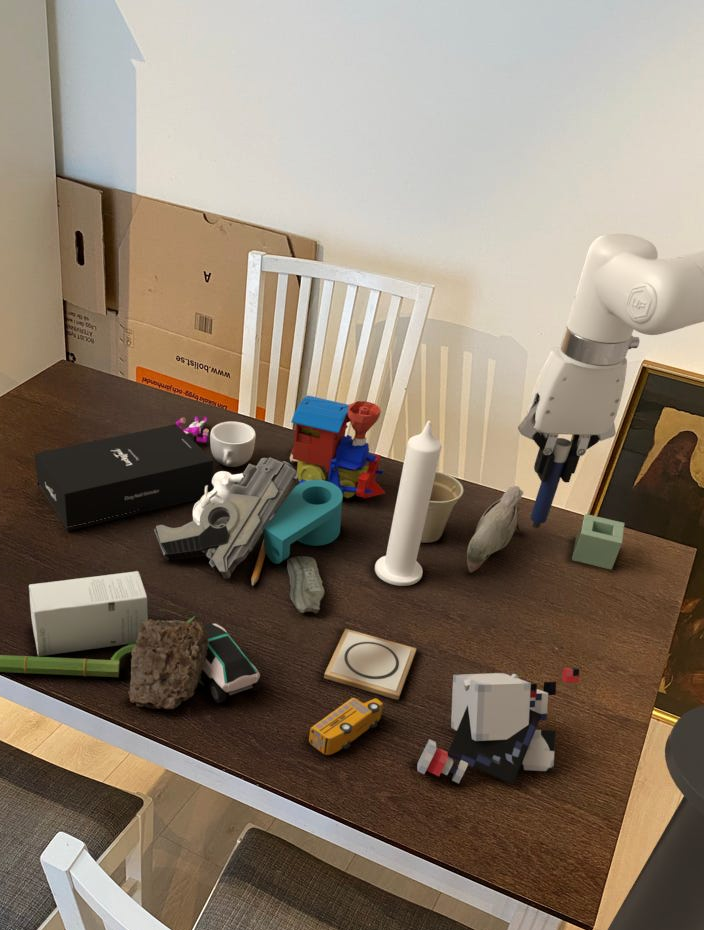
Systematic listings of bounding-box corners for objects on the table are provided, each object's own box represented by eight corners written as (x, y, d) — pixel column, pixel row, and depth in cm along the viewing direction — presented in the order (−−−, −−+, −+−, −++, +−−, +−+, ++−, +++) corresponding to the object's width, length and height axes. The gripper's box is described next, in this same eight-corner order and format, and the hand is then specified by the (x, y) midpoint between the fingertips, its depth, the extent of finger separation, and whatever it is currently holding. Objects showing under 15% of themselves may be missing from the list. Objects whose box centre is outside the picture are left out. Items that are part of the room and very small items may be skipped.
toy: (474, 622, 117) (589, 672, 115) (416, 744, 120) (526, 794, 118) (482, 636, 105) (610, 692, 103) (416, 771, 108) (539, 827, 107)
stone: (328, 603, 130) (293, 607, 130) (328, 615, 131) (293, 618, 131) (315, 554, 140) (282, 557, 140) (315, 565, 141) (282, 569, 141)
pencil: (272, 519, 150) (250, 590, 136) (270, 514, 150) (247, 584, 136) (278, 517, 150) (256, 588, 136) (275, 512, 149) (253, 583, 135)
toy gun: (142, 542, 139) (225, 585, 134) (216, 428, 142) (300, 465, 137) (149, 552, 142) (231, 594, 137) (221, 440, 145) (304, 477, 140)
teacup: (215, 446, 166) (216, 418, 162) (257, 452, 165) (259, 425, 161) (201, 474, 159) (202, 446, 155) (246, 481, 158) (248, 453, 154)
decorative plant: (-38, 659, 115) (206, 670, 116) (-27, 604, 120) (207, 616, 121) (-30, 684, 120) (203, 695, 122) (-20, 631, 125) (205, 641, 126)
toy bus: (386, 703, 115) (362, 687, 117) (334, 742, 110) (309, 725, 112) (383, 721, 117) (359, 705, 119) (331, 761, 112) (307, 744, 114)
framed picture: (415, 652, 127) (417, 647, 126) (398, 700, 120) (399, 694, 119) (344, 632, 129) (345, 627, 129) (323, 678, 122) (324, 672, 122)
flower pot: (417, 509, 154) (427, 462, 148) (463, 534, 149) (476, 488, 143) (380, 529, 149) (388, 482, 143) (427, 556, 144) (437, 509, 138)
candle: (421, 589, 138) (457, 437, 121) (373, 583, 138) (402, 430, 122) (421, 561, 143) (455, 411, 126) (375, 555, 144) (403, 405, 127)
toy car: (220, 709, 117) (222, 679, 114) (178, 651, 125) (179, 620, 121) (261, 695, 119) (264, 665, 116) (217, 639, 127) (219, 608, 124)
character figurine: (187, 427, 173) (164, 450, 163) (189, 400, 170) (166, 422, 160) (216, 433, 172) (195, 457, 162) (219, 407, 169) (198, 430, 159)
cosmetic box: (149, 641, 126) (39, 662, 123) (139, 612, 130) (32, 631, 127) (148, 594, 120) (31, 614, 117) (137, 565, 125) (24, 584, 121)
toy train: (303, 462, 163) (312, 381, 153) (392, 483, 159) (407, 402, 149) (283, 490, 156) (292, 408, 146) (376, 514, 152) (391, 430, 142)
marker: (541, 521, 132) (568, 438, 123) (546, 531, 130) (574, 446, 121) (525, 521, 132) (551, 437, 123) (530, 530, 130) (556, 446, 121)
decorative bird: (452, 567, 142) (463, 526, 137) (490, 520, 152) (501, 480, 148) (486, 580, 140) (498, 539, 135) (522, 531, 150) (534, 491, 145)
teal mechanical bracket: (353, 495, 142) (316, 473, 146) (282, 540, 136) (245, 516, 140) (350, 529, 147) (314, 507, 151) (281, 574, 140) (246, 550, 144)
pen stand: (614, 549, 148) (624, 522, 144) (611, 570, 143) (622, 543, 140) (575, 539, 149) (584, 513, 146) (571, 560, 145) (581, 533, 142)
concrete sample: (203, 614, 114) (208, 616, 119) (122, 618, 116) (131, 620, 121) (207, 708, 114) (213, 706, 119) (126, 711, 115) (134, 709, 120)
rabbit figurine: (220, 500, 153) (222, 447, 147) (260, 514, 150) (265, 461, 144) (180, 534, 145) (181, 480, 139) (222, 551, 142) (225, 496, 136)
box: (67, 531, 144) (64, 494, 140) (38, 489, 153) (34, 453, 149) (212, 496, 154) (213, 460, 149) (176, 458, 163) (176, 423, 158)
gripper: (647, 334, 117) (601, 463, 129) (520, 330, 116) (486, 460, 128) (670, 360, 111) (620, 493, 123) (537, 356, 110) (499, 490, 122)
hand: (552, 475), depth 125 cm, fingers closed on marker, 2 cm apart
